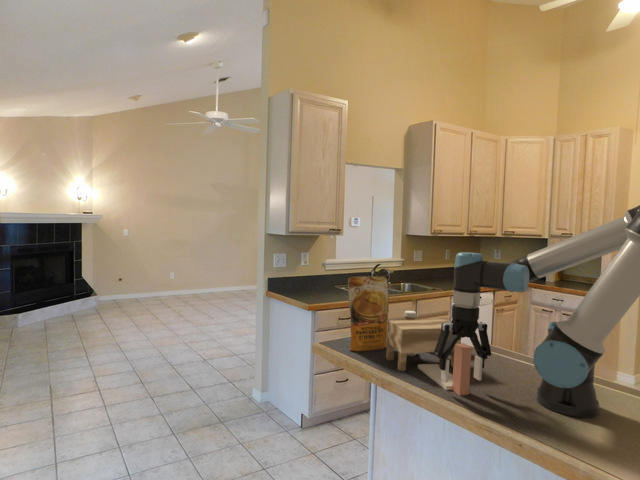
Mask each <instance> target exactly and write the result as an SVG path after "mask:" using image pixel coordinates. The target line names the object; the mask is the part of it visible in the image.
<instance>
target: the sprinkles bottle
mask: <svg viewBox="0 0 640 480" xmlns="http://www.w3.org/2000/svg"><path fill="white" fill-rule="evenodd" d="M416 317H417V312H416V311H414V310H405V311H404V320H416V319H417V318H416Z"/></svg>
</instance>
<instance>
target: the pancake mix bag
mask: <svg viewBox="0 0 640 480" xmlns="http://www.w3.org/2000/svg"><path fill="white" fill-rule="evenodd" d="M388 282H389V281H388V278H386V276H384V275H374V276H372V275H371V276H370V275H358V276H357V275H355V276H354V275H353V276H350V277H348V278H347V291H348V308H349V314H350V315H349V316H350V326H349V327H350V328H349V329H350V343H349V344H350V345H349V348H348V349H349V351H353V352H369V351H379V350H380V351H381V350H384V349H385V348H387V331H388V320H389V308H390V307H389V306H390V298H389V297H390V296H389V295H390V294H389V283H388Z"/></svg>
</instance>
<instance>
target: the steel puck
mask: <svg viewBox="0 0 640 480" xmlns="http://www.w3.org/2000/svg"><path fill="white" fill-rule="evenodd" d="M417 354H418V353H407V355H406V357H407V358H408V357H410V358H411V357H416V356H417Z"/></svg>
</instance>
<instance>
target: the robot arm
mask: <svg viewBox="0 0 640 480" xmlns="http://www.w3.org/2000/svg"><path fill="white" fill-rule="evenodd" d="M615 252H616V254H615V255H614V256H613V258H612V259H611V260H610V262H609V263H608V264H607V266H606V267H605V268H604V270H603V271H602V273H601V274H600V275H599V277H597V279H596V281H595V282H594V283H593V284H592V286H591V287H590V288H589V290H588V291H587V293H586V294H585V296H584V297H583V299H581V301H580V302H579V303H578V305H577V307H576V308H575V309H574V310H573V312H572V313H571V315H570V316H569V318H568V319H566V320H559V321H551V322H550V323H549V324H548V328H547V332H548V333H547V336H546V337H545V338H544V340H543V341H542V342H541V343H539V345H538V344H537V345H538V346H537V347H536V348H535V350H534V355H533V364H534V368H535V370H536V373H538V375H539V376H540V378H542V379H541V382H540V384H539V386H538V388H537V389H536V396H535V397H536V401H537V403H539V404H540V405H541V406H543V407H545V408H547V409H549V410H551V411H553V412H555V413H559V414H561V415H566V416H568V417H569V416H570V417H577V418H594V417H596V416H598V415H599V413H600V402H599V401H598V398H597V394H596V393H597V392H596V389H595V385H594V383H595V382H594V381H595V380H594V378H595V368H596V367H595V366H596V364H597V362H598V361H599V360H600V359H601V357H602V356H603V355H604V354H605V352H606V349H605V345H604V341H605V340H606V339H607V337H608V336H609V335H610V334H611V332H612V331H613V330H614V328H616V327H617V325H618V324H619V323H620V321H621V320H622V318H624V316H625V315H626V314H627V312H628V311H629V309H631V307H632V306H633V305H634V303H635V302H636V301H637V300H638V298H639V297H640V204H639V205H637V206H636V207H632V208H631V209H630V208H629V209H628V210H626V211H625V212H624V215H623V216H621V217H619V218H617V219H613V220H611V221H609V222H606V223H604V224H601V225H599V226H595V227H593V228H591V229H589V230H587V231H584V232H581V233H579V234H576V235H574V236H571V237H569V238H566V239H564V240H561V241H559V242H557V243H554V244H551V245H549V246H546V247H544V248H541V249H538V250H536V251H533V252H531V253H529V254H526V255H523V256H521V257H518V258H515V259H513V260H510V261H506V262H498V261H496V262H495V261H489V260H484V256H483V254H482V253H479V252H472V251H471V252H469V251H467V252H465V251H463V252H461V251H460V252H458V253H456V255H455V260H454V261H455V262H454V266H453V268H454V271H453V273H454V274H453V290H452V291H453V292H452V303H453V304H452V306H451V321H452V322H451V323H449V324H445V323H442V324H441V333H440V336H439V339H438V342H437V345H436V348H435V351H434V352H433V355H434V356H435V357H436V356H437V357H436V358H438V359H439V363H438V365H439V368H440V369H441V379H442V380H443V381H444V382H448V375H449V373H450V371H449V370H450V359H448V358H449V356H450V354H452V349H453V348H454V346H455V344H456V343H457V341H458V340H460V338H461V339H463V338H469V339H470V341H471V342H470V343H471V344H472V346H473V348H474V350H475V352H476V354H477V355H474V364H473V378H474V379H475V380H478V381H482V376H483V375H482V372H483V369H484V368H485V360H487V359H488V357H490V356H491V355H492V348H491V344H490V340H489V336H488V335H489V334H488V324H487V323H485V322H483V321H480V322H479V321H478V320H479V318H480V308H479V306H480V305H481V292H482V291H481V290H482V288H484V289H485V288H487V289H493V290H499V291H505V292H509V293H524V292H526V291H527V289H528V287H529V283H531V282H533V281H536V280H538V279H541V278H545V277H548V276H550V275H552V274H555V273H559V272H561V271H564V270H567V269H570V268H572V267H576V266H578V265H581V264H584V263H586V262H590V261H592V260H595V259H598V258H600V257H603V256H607V255H609V254H612V253H615ZM451 328H452V329H453V330H452V332H451V333H450V337H449V339H448V336H449V331H451ZM477 330H478V335H479V336H478V335H477V333H476V331H477ZM455 334H456V336H455ZM447 339H448V341H447Z"/></svg>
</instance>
